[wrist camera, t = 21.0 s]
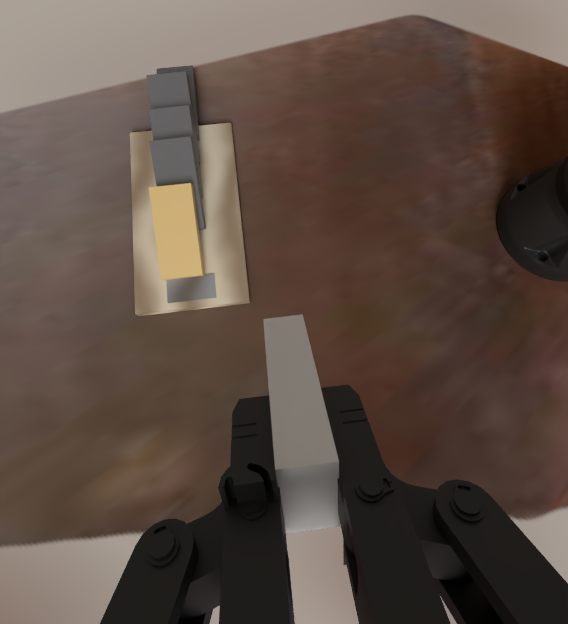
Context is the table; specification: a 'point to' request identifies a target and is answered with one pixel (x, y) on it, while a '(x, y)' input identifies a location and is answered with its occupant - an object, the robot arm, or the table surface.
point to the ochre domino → (176, 231)
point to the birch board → (214, 239)
